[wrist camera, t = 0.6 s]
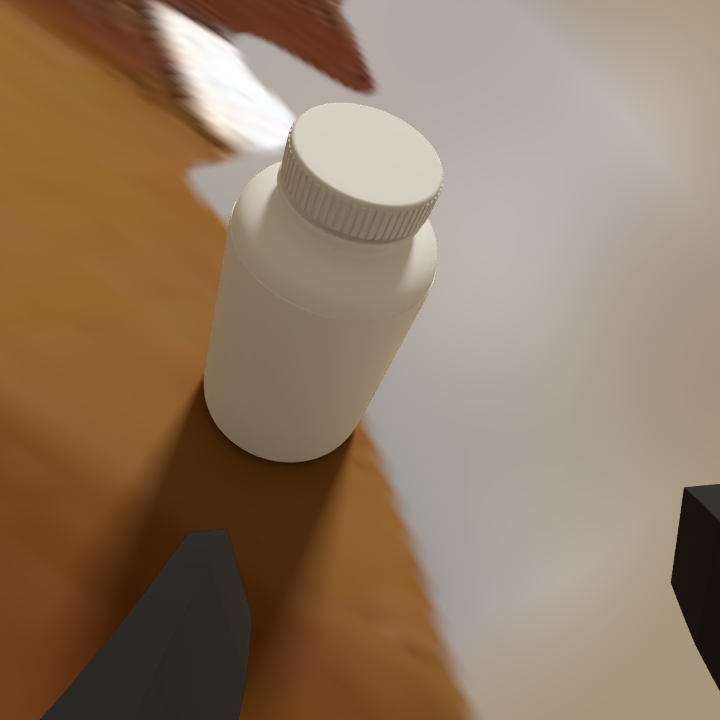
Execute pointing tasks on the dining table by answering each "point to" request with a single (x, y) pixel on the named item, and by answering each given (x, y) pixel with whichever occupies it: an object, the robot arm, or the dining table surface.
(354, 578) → the dining table surface
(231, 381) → the pill bottle
